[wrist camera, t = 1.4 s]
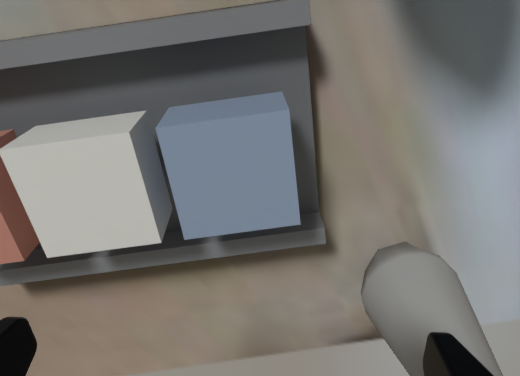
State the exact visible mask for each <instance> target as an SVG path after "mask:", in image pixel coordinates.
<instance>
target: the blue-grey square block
mask: <svg viewBox="0 0 520 376" xmlns="http://www.w3.org/2000/svg"><path fill="white" fill-rule="evenodd" d="M156 132H157V136H158V140H159V144H160V148H161V151H162V155H163V159H164V163H165V167H166V171H167V175H168V178H169V182H170V186H171V190H172V194H173V198H174V202H175V205H176V209H177V213H178V217H179V221H180V225H181V229H182V232H183V236H184V240H187V239H195V238H203V237H210V236H218V235H225V234H233V233H241V232H248V231H256V230H263V229H271V228H278V227H286V226H294V225H301V223H300V213H299V203H298V193H297V183H296V173H295V163H294V153H293V143H292V133H291V123H290V113H289V108H288V105H287V103H286V100H285V98H284V95H283V92H282V91H281V92H274V93H267V94H260V95H253V96H246V97H239V98H231V99H224V100H217V101H210V102H203V103H196V104H189V105H182V106H174V107H169V108H168V110H167V111H166V113H165V114H164V116H163V117H162V119H161V121H160V122H159V124H158V125H157V127H156Z"/></svg>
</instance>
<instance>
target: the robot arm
mask: <svg viewBox="0 0 520 376" xmlns="http://www.w3.org/2000/svg"><path fill="white" fill-rule="evenodd" d="M36 349H37V341H36V339H35V336H34V334H33V332H32V329H31V327H30V325H29V322H28V321H27V319H25V318H24V317H6V318H3V319H2V320H0V376H25V375H26V373H27V371H28V369H29V366H30V364H31V362H32V360H33V357H34V355H35V352H36ZM423 371H424V376H494V375H493V374H492V373H491V372H490V371H489V370H488V369H487V368H486V367H485V366H484V365H483V364H482V363H481V362H480V361H479V360H478V359H476V358H475V357H474V356H473V355H472V354H471V353H470V352H469V351H468V350H467V349H466V348H465V347H464V346H463V345H462V344H461V343H460V342H459V341H458V340H457V339H456V338H455V337H454V336H453V335H452V334H450V333H447V332H430V333H429V334H428V337H427V341H426V346H425V350H424V355H423Z"/></svg>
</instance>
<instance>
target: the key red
mask: <svg viewBox="0 0 520 376" xmlns="http://www.w3.org/2000/svg"><path fill="white" fill-rule="evenodd" d="M16 138H17V136H16V134H15V131H14V129H10V130H3V131H0V149H1V148H2V147H4V146H5V145H7V144H8V143H10V142H12V141H13V140H15V139H16ZM39 243H40V241H39V239H38V237H37V235H36V232H35V230H34V228H33V226H32V224H31V221H30V219H29V217H28V215H27V213H26V211H25V208H24V206H23V204H22V202H21V200H20V197H19V195H18V193H17V191H16V189H15V186H14V184H13V182H12V180H11V178H10V176H9V173H8V171H7V169H6V167H5V165H4V162H3V160H2V158H1V156H0V264H5V263H13V262H20V261H25V260H26V259H27V257H28V256H29V255H30V254H31V252H32V251H33V250H34V249H35V247H36V246H37V245H38V244H39Z"/></svg>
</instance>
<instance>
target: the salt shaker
mask: <svg viewBox="0 0 520 376" xmlns="http://www.w3.org/2000/svg"><path fill="white" fill-rule="evenodd" d="M361 296H362V301H363V304H364V307H365V311H366V314H367V315H368V317H369V318H370V319H371V321H372V322H373V324H374V325H375V327H376V328H377V329H378V331H379V332H380V334H381V335H382V337H383V338H384V339H385V341H386V342H387V344H388V345H389V346H390V348H391V349H392V351H393V352H394V354H395V355H396V356H397V358H398V359H399V361H400V362H401V363H402V365H403V366H404V368H405V369H406V370H407V372H408V373H409V375H410V376H424V371H423V355H424V350H425V346H426V341H427V337H428V334H429V333H430V332H447V333H450V334H452V335H453V336H454V337H455V338H456V339H457V340H458V341H459V342H460V343H461V344H462V345H463V346H464V347H465V348H466V349H467V350H468V351H469V352H470V353H471V354H472V355H473V356H474V357H475V358H476V359H478V360H479V361H480V362H481V363H482V364H483V365H484V366H485V367H486V368H487V369H488V370H489V371H490V372H491V373H492V374H493V375H494V376H503V375H502V372H501V370H500V368H499V366H498V364H497V361H496V359H495V357H494V355H493V353H492V350H491V348H490V346H489V344H488V342H487V339H486V337H485V335H484V333H483V331H482V328H481V326H480V324H479V322H478V320H477V317H476V315H475V313H474V311H473V308H472V306H471V304H470V302H469V300H468V297H467V295H466V293H465V291H464V289H463V286H462V284H461V282H460V280H459V278H458V275H457V273H456V272H455V271H454V270H453V269H452V268H451V267H450V266H449V265H448V264H447V263H446V261H445V260H444V259H442V258H441V257H440V256H439V255H436V254H433V253H430V252H427V251H424V250H421V249H418V248H416V247H414V246H412V245H411V244H409V243H407V242H403V243H400V244H396V245H393V246H389V247H386V248H382V249H379V250H377V252H376V253H375V255H374V257H373V258H372V260H371V262H370V263H369V265H368V267H367V268H366V270H365V273H364V278H363V284H362V289H361Z"/></svg>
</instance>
